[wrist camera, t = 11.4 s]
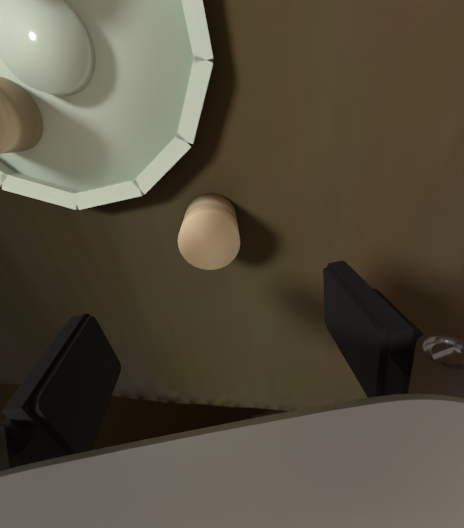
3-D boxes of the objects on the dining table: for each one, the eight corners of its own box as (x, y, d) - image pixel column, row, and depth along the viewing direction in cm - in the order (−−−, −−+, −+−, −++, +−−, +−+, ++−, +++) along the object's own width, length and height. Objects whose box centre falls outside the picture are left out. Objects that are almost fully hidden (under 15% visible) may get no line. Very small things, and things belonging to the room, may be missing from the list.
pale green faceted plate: (232, 171, 21) (235, 176, 19) (5, 221, 22) (-18, 232, 20) (155, -241, 13) (144, -319, 10) (-227, -147, 13) (-317, -205, 11)
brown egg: (246, 219, 23) (252, 244, 19) (211, 249, 25) (209, 279, 20) (211, 181, 21) (209, 200, 17) (175, 217, 23) (164, 242, 19)
